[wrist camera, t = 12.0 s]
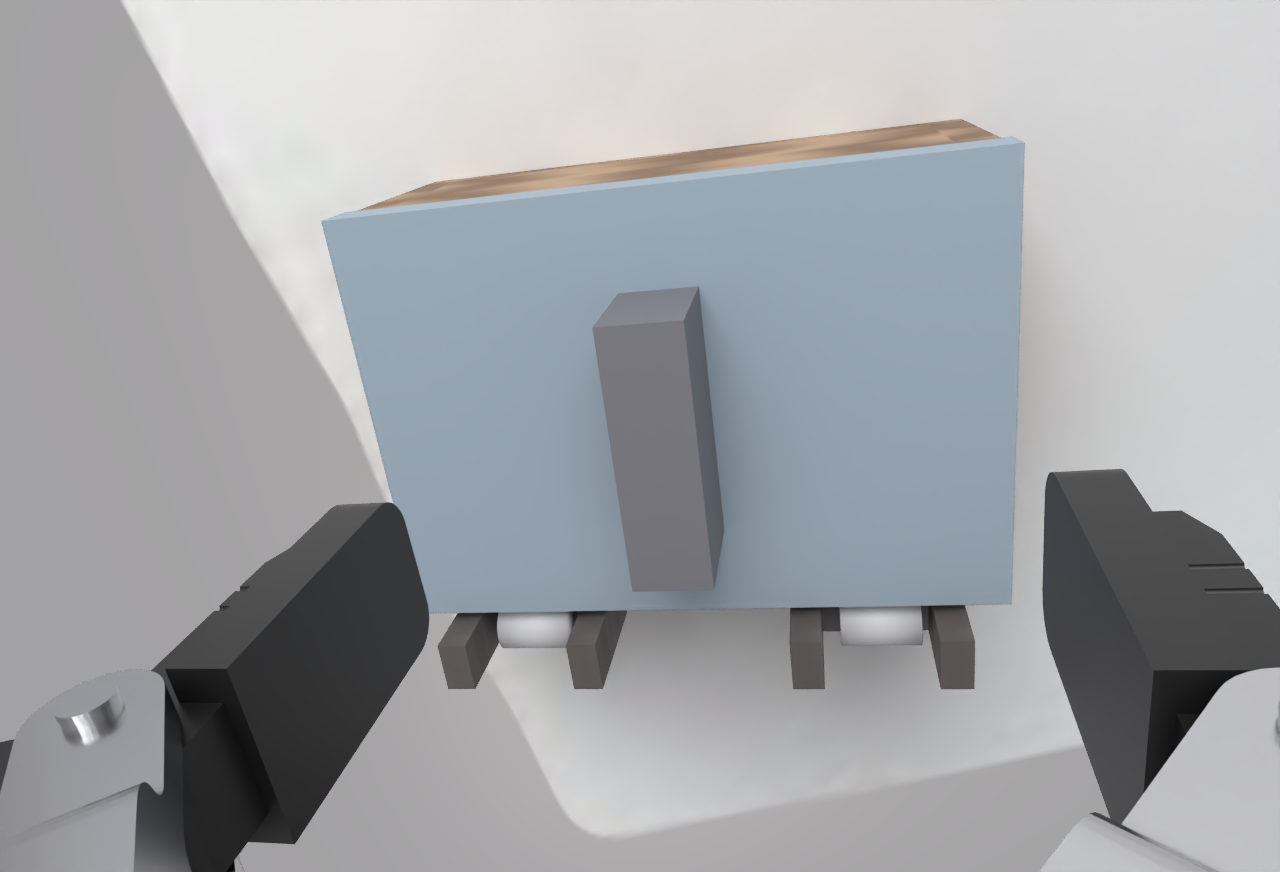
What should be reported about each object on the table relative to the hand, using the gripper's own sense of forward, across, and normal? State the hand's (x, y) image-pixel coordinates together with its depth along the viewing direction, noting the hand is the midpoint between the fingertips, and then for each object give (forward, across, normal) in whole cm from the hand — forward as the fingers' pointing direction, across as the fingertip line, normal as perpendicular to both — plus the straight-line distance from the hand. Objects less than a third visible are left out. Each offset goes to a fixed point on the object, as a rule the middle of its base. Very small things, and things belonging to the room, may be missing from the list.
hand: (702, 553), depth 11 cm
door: (+18, +4, +4) cm, 18 cm away
